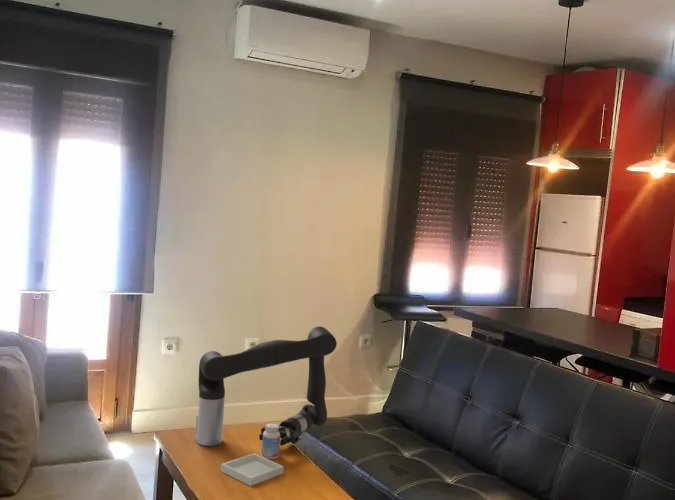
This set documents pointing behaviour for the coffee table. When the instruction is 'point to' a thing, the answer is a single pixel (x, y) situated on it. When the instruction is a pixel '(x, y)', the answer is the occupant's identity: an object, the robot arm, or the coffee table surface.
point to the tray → (252, 469)
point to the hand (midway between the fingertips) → (270, 440)
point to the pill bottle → (271, 442)
